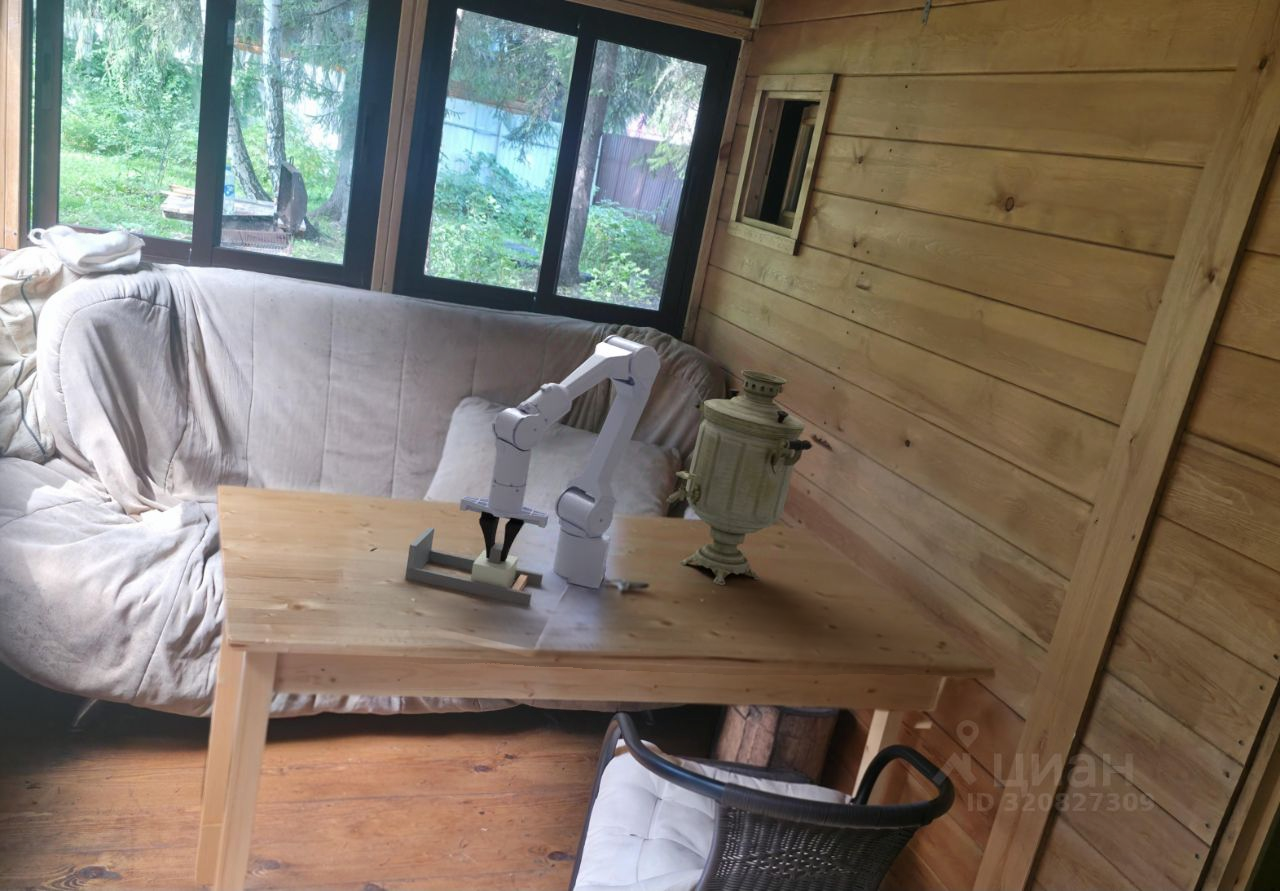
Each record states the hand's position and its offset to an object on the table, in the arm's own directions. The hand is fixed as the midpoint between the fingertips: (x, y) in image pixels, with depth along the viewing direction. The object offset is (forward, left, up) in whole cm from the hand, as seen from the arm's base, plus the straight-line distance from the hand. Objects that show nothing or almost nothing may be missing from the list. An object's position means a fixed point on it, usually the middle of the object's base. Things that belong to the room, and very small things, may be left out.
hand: (496, 558), depth 169 cm
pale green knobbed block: (0, 0, -5) cm, 5 cm away
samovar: (-35, -33, -6) cm, 49 cm away
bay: (+3, 0, -6) cm, 7 cm away
